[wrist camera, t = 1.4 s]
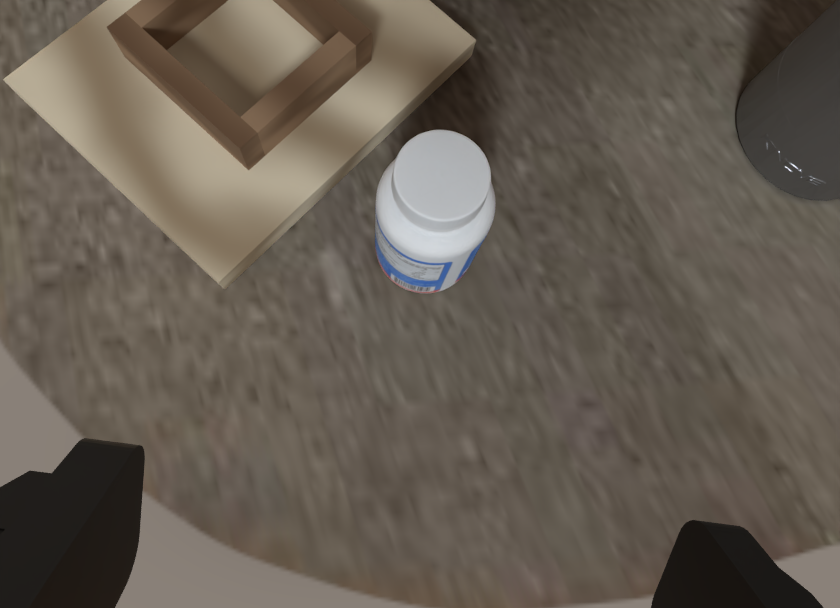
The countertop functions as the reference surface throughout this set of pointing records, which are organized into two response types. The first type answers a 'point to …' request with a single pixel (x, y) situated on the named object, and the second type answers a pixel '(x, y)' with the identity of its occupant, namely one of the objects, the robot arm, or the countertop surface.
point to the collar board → (237, 105)
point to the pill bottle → (433, 211)
